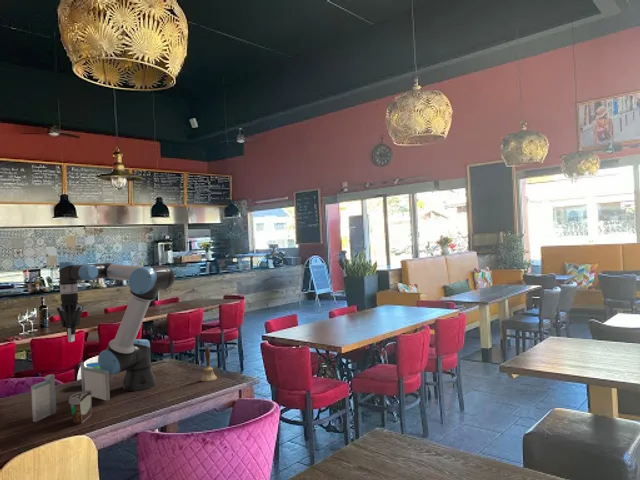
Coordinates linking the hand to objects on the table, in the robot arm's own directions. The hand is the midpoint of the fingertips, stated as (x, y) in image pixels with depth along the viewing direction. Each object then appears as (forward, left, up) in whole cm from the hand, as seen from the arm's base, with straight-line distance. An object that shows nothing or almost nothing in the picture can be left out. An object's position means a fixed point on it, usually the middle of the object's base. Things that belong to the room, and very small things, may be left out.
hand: (71, 341), depth 231 cm
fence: (-12, +23, -24) cm, 35 cm away
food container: (-30, +36, -25) cm, 53 cm away
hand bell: (-61, -20, -25) cm, 69 cm away
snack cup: (-3, -11, -25) cm, 27 cm away
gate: (-22, +13, -23) cm, 34 cm away
